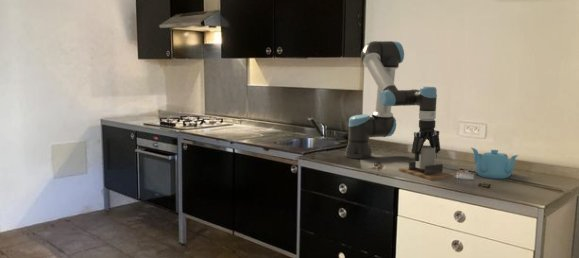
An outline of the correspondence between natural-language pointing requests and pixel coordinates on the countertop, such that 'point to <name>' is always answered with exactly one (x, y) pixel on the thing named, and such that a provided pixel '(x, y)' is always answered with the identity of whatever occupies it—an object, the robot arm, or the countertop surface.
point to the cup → (427, 156)
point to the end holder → (426, 171)
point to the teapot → (493, 164)
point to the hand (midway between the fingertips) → (425, 166)
